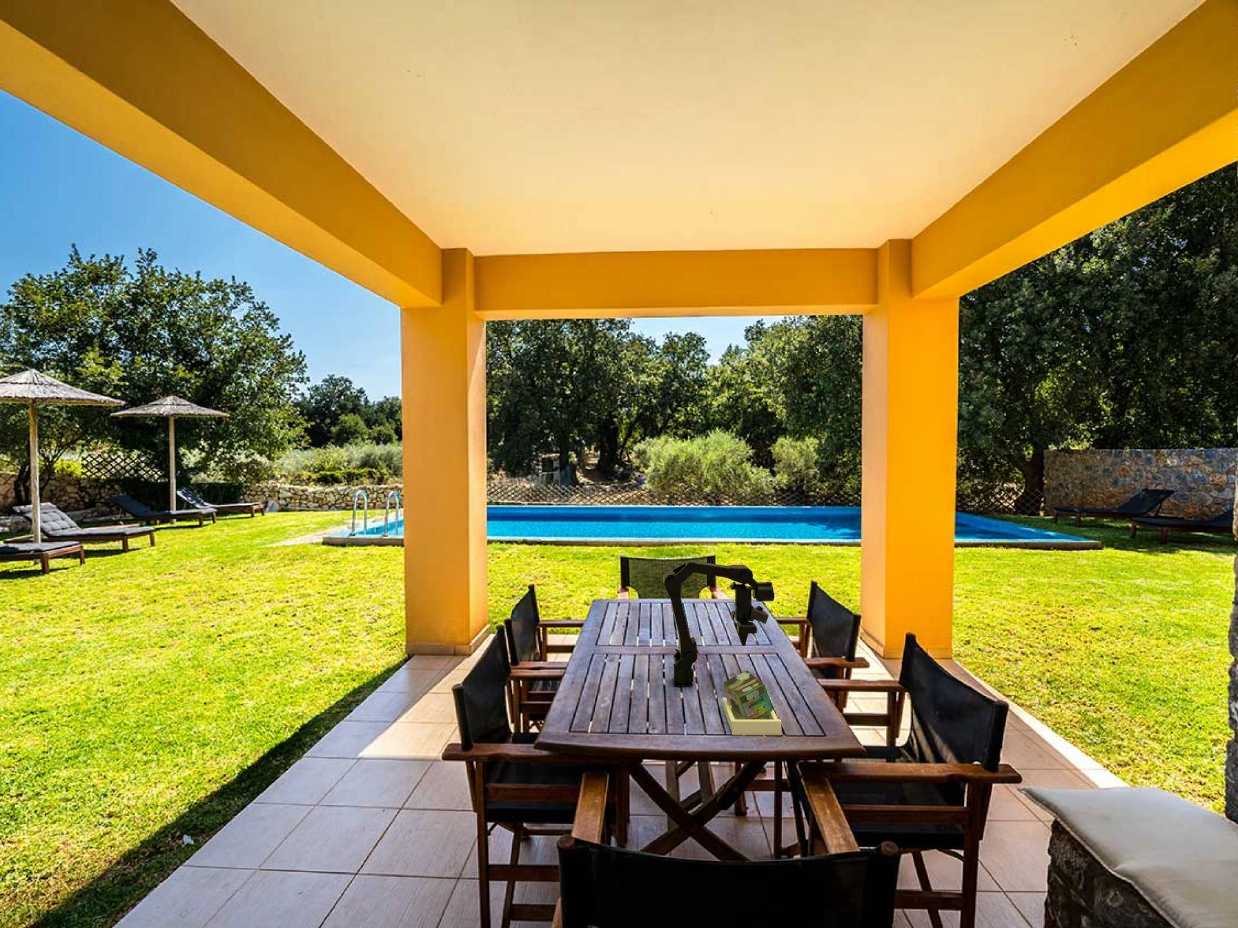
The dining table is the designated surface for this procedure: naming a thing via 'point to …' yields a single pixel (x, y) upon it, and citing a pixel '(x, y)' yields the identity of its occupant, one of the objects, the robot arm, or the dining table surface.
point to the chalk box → (748, 696)
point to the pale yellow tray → (751, 722)
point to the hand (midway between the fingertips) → (743, 645)
